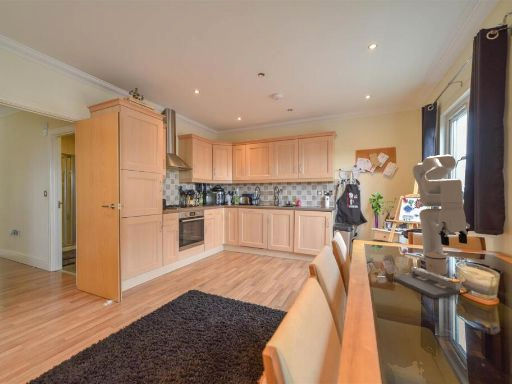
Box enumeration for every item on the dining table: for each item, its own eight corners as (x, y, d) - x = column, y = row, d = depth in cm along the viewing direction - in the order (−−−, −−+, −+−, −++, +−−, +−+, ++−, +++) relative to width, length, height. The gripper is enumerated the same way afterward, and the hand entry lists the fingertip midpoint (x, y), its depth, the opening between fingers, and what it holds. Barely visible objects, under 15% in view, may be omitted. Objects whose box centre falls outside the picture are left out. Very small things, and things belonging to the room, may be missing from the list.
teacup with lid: (445, 270, 121) (444, 248, 121) (448, 276, 113) (447, 253, 113) (418, 267, 127) (417, 247, 127) (419, 273, 120) (418, 251, 120)
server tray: (422, 274, 117) (422, 270, 117) (468, 292, 97) (468, 287, 97) (393, 279, 114) (393, 275, 114) (434, 298, 93) (433, 293, 93)
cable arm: (409, 271, 116) (409, 265, 116) (415, 270, 117) (415, 264, 117) (455, 289, 94) (455, 282, 94) (462, 288, 95) (461, 281, 95)
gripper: (458, 205, 107) (461, 241, 107) (428, 207, 104) (430, 244, 104) (476, 205, 100) (479, 244, 100) (444, 208, 97) (446, 247, 97)
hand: (454, 244), depth 102 cm, fingers open, 9 cm apart
